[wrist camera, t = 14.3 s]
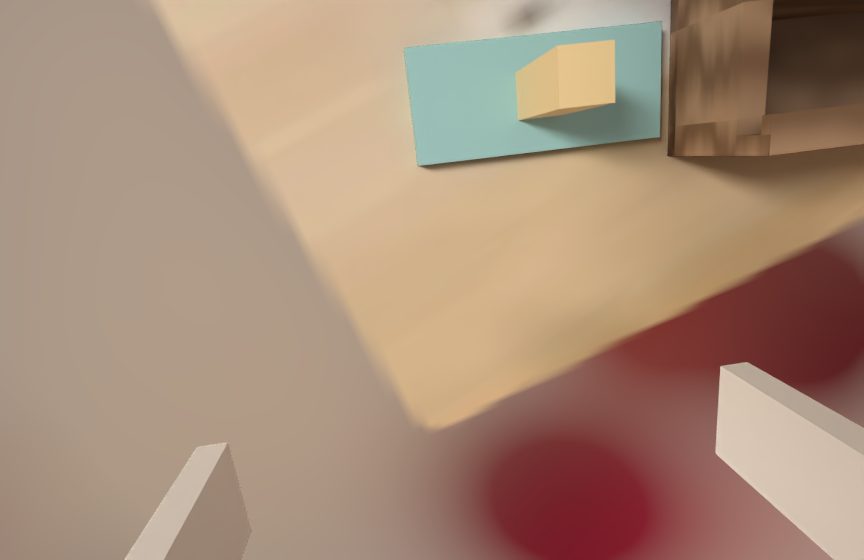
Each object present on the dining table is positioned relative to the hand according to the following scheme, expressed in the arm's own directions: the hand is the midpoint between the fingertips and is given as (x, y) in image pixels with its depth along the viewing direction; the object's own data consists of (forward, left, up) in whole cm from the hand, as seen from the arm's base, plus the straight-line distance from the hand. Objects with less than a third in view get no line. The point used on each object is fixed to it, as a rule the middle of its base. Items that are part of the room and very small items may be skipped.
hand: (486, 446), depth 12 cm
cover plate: (-11, +11, -29) cm, 33 cm away
